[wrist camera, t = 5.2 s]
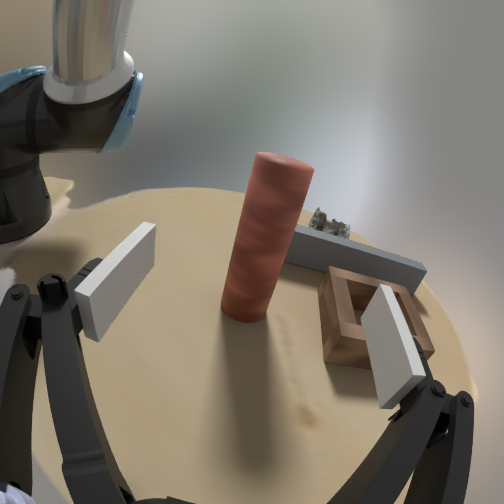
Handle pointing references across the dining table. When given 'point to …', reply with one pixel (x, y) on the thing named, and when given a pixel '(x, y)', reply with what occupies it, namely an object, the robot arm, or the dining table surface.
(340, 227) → the grey rough frame
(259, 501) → the dining table surface
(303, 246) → the backstop wall
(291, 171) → the dowel
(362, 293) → the socket block
